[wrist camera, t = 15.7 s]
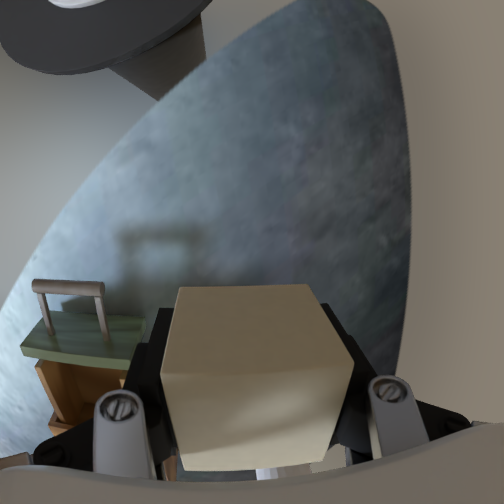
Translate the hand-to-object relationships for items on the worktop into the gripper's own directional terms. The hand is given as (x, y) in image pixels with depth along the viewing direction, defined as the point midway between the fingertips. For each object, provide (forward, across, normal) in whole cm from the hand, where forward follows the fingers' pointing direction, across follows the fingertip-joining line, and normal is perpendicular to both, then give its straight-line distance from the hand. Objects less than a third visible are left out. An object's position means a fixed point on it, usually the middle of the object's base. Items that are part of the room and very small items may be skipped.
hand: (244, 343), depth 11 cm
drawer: (+17, +14, +13) cm, 25 cm away
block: (0, 0, 0) cm, 0 cm away
